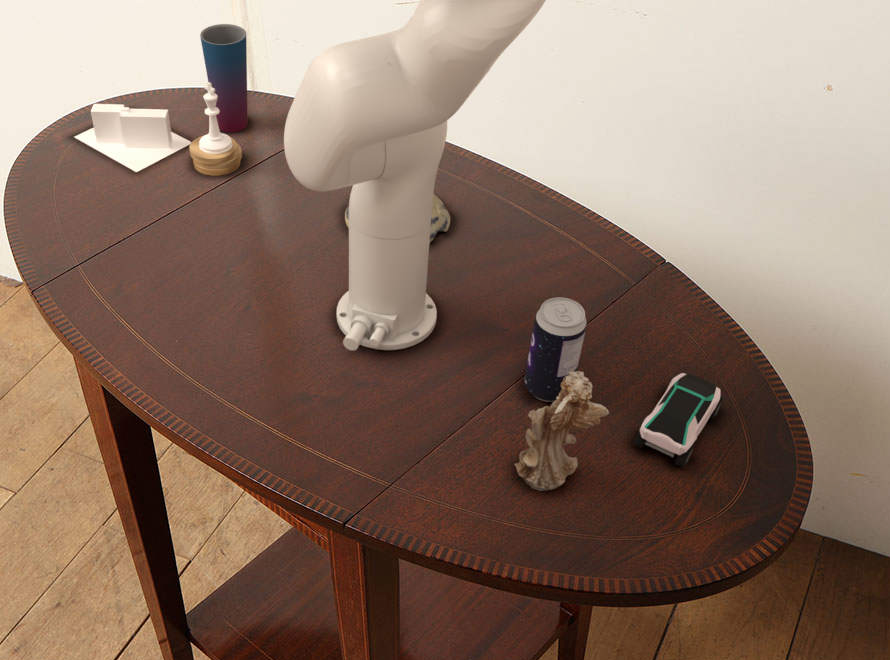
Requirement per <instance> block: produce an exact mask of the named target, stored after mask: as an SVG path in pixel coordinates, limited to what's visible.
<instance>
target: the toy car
mask: <svg viewBox="0 0 890 660" xmlns="http://www.w3.org/2000/svg"><path fill="white" fill-rule="evenodd" d="M723 400H724V397H723V396H721V389H720V388H719V387H718V386H717V385H716V384H715V383H713V382H711V381H709V380H706V379H704V378H702V377H700V376H697V375H694V374H691V373H684V372H681V373H680V374H679V373H678V375H676V376H675V377H673V378H672V379H671V380H670V381H669V383H668V386H667V388H666V390H665V392H664V394H663V395H662V396H661V398H660V399H659V401H658V402H657V404H656V406H655V407H654V409H653V410H652V412H651V413H650V414H649V415H647V416H646V417H645V418H644V420H643V422H642V424H641V425H640V427H639V429H638V431H637V433H636V435H635V437H634V441H633V445H634V446H635V447H637V448H641V449H642V448H644V447H645V446H647V447H649V448H651V449H654V450H656V451H658V452H661V453H662V454H664V455H667V456H669V457H671V458H674V457H675V455H677V457H676V459H675V462H674V464H675V465H677V466H678V467H681V468H684V467H686V465H687V464H688V462H689V460H690V458H691V456H692V454H693V451H694V448H695V444H694V443H695V442H696V441H697V439H698V436H699V435H700V433H702V430H703V429H704V428H705V426H706V424H707V422H708V421H709V420H714V418H715V417H716V416H717V414H718V412H719V410H720V408H721V406H722V403H723Z"/></svg>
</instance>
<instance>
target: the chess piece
mask: <svg viewBox="0 0 890 660" xmlns="http://www.w3.org/2000/svg"><path fill="white" fill-rule="evenodd" d="M203 88H204V90H206V91H207V92H206V93H205V94H203V96H202V97H203V100H204V102H205V104H206V106H207V107H206V108H205V109H204V114H205V115H207V116H208V120H209V121H208V133H207V134H204V135H205V136H204V135H202V136H203V137H202V138H201V139H200V141H199V148H200V149H201V150H202V151H203V152H205V153H209V154H220V153H224V152H227V151H228V150H230V149H231V148H232V145H233V144H232V140H231V138H232V137H231V138H230V136H229V135H228V134H226V133H223V132H221V130H219V126H218V122H217V118H216V115H217V114H219V112H220V111H219V109H218V108H217V107H215V106H216V102H217V98H218V96H217V94H215V93H212V92H215V88H212V85H211V83H210V82H209V83H208V82H207V83H206V85H204V86H203Z"/></svg>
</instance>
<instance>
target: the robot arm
mask: <svg viewBox="0 0 890 660" xmlns="http://www.w3.org/2000/svg"><path fill="white" fill-rule="evenodd" d="M546 1H547V0H420V1H419V2H418V4H417V6H416V7H415V9H414V11H413V13H412V15H411V17H410V18H409V19H408V20H407V22H406V23H405V25H404V26H402V27H401V28H399V29H396V30H393V31H390V32H386V33H382V34H379V35H373V36H369V37H365V38H360V39H356V40H351V41H346V42H343V43H338V44H336V45H332V46H330V47H327V48H326V49H324V50H323V51H321V52H320V53H319V54H318V55H316V56H315V57H314V58H313V59H312V61H311V62H310V63H309V65H308V67H307V69H306V71H305V73H304V76H303V78H302V80H301V83H300V85H299V87H298V89H297V92H296V94H295V96H294V99H293V101H292V103H291V106H290V108H289V110H288V113H287V116H286V120H285V125H284V132H283V150H284V155H285V159H286V164H287V165H288V166H287V167H288V168H289V170H290V172H291V173H292V175H293V177H294V178H295V179H296V180H297V182H298V183H299V184H301V185H302V186H303V187H304V188H306V189H308V190H311V191H313V192H318V193H325V192H331V191H336V190H341V189H344V188H348V187H352V188H351V191H350V195H349V201H348V206H349V228H348V291H346V292H345V293H344V294H343V295H342V296H341V298H340V299H339V301H338V302H337V306H336V323H337V325H338V328H339V330H340V331H341V332H342V333H343V335H345V336H344V338H343V340H342V345H343V346H344V348H345V349H346V350H348V351H356V350H358V348H359V347H360V346H362V347H366V348H369V349H374V350H380V351H397V350H403V349H407V348H410V347H414V346H416V345H417V344H420V343H421V342H423V341H424V340H426V339H427V338H428V337H429V336H430V335H431V333H433V331H434V329H435V327H436V324H437V319H438V318H437V316H438V315H437V314H438V311H437V307H436V304H435V302H434V300H433V299H432V297H431V296H430V295H428V293H427V284H428V283H427V282H428V281H427V280H428V271H429V270H428V267H429V256H430V255H429V253H430V243H431V242H430V227H431V215H432V203H433V193H434V191H435V185H436V178H437V175H438V170H439V166H440V163H441V160H442V156H443V154H444V149H445V145H446V141H447V136H448V135H447V134H448V121H449V120H450V119H451V118H452V117H453V116H454V115H456V113H457V112H458V111H459V110H460V109H461V108H462V106H463V105H464V104H465V103H466V101H467V100H468V98H469V97H470V96H471V95H472V93H473V92H474V90H476V88H477V87H478V86H479V84H480V83H481V82H482V80H484V78H485V77H486V75H487V74H488V73H489V72H490V70H491V69H492V67H493V66H494V64H495V63H496V62H497V60H498V59H499V58H500V56H501V55H502V54H503V53H504V52H505V51H506V49H508V47H510V45H511V44H512V43H513V42H514V41H515V40H516V39H517V38H518V36H519V35H520V34H521V33H523V32H524V30H525V29H526V28H527V27H528V26H529V24H530V23H531V22H532V21H533V19H534V18H535V17H536V16H537V14H538V13H539V12H540V10H541V9H542V7H543V5H544V4H545V3H546ZM429 242H430V243H429Z"/></svg>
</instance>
